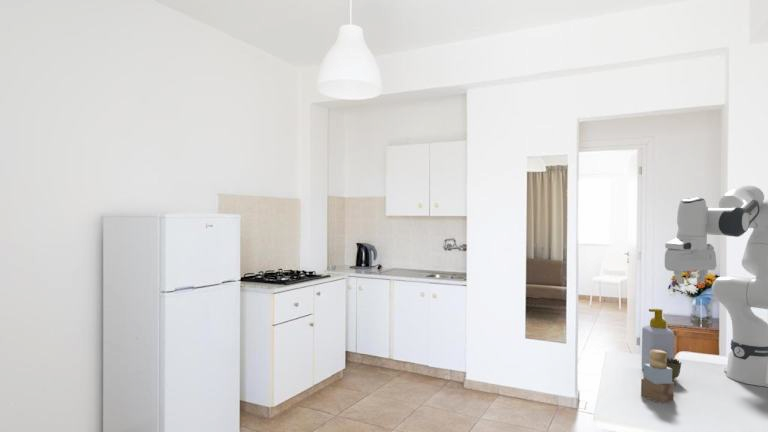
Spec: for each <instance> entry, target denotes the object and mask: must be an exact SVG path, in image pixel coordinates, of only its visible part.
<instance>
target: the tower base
mask: <svg viewBox="0 0 768 432" xmlns="http://www.w3.org/2000/svg"><path fill="white" fill-rule="evenodd" d="M640 383H641V384H640V386H641V387H640V396H641V397H642V398H646V399H648V400H652V401H654V402H657V404H658V403H659V404H664V403H666V402H667V403H668V402H670V401H674V398H675V397H674V396H675V393H674V390H675V389H674V387H675V381H674V382H672V383H671V384H659V385H657V384H655V383H652V382H650V381H648V380H646V379H644V378H641V382H640Z"/></svg>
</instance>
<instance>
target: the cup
mask: <svg viewBox="0 0 768 432" xmlns="http://www.w3.org/2000/svg"><path fill="white" fill-rule="evenodd" d="M667 367H669V368H672V382H674V383H675V381H676V379H677V378H678V377H679V376H680V373H681V368H682V361H679V359H677V358H674V360H673V359H672V358H671V360H670V359H669V358H667Z"/></svg>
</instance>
